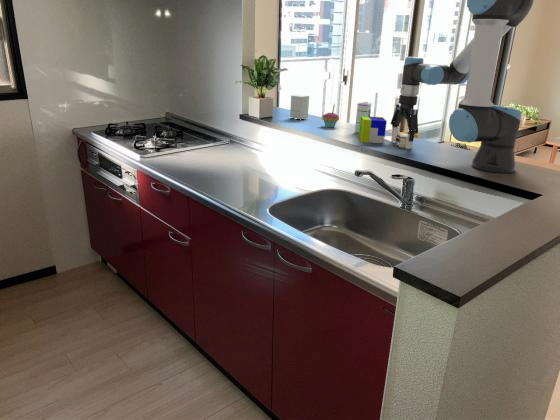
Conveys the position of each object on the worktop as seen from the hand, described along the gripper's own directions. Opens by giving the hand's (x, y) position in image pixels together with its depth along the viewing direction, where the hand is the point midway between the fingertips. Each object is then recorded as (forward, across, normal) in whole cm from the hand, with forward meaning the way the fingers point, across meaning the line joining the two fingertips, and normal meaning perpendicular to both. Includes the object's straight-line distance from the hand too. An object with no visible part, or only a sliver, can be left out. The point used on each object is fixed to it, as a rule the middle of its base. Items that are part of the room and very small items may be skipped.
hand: (401, 145), depth 213 cm
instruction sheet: (0, -12, +4) cm, 13 cm away
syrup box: (+1, -29, -5) cm, 30 cm away
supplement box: (+2, -66, -25) cm, 71 cm away
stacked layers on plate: (+1, +1, 0) cm, 1 cm away
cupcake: (+1, -43, -16) cm, 46 cm away
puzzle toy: (+1, -11, -9) cm, 15 cm away
